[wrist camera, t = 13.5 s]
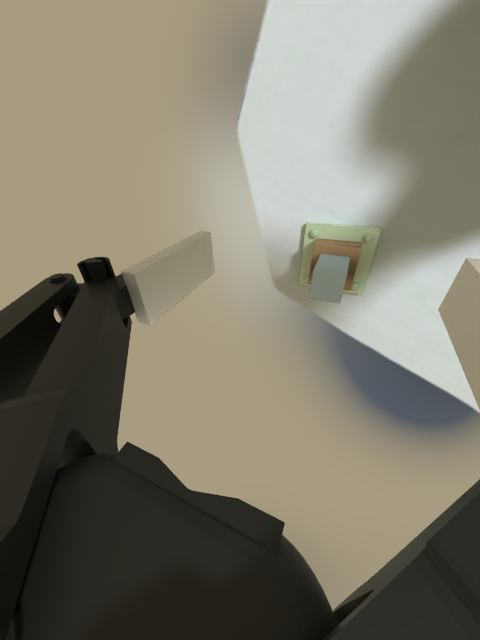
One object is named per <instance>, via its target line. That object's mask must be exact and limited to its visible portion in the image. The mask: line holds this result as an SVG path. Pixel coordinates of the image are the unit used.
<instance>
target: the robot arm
mask: <svg viewBox="0 0 480 640" xmlns="http://www.w3.org/2000/svg"><path fill="white" fill-rule="evenodd" d="M77 265H78V268H79V270H80V272H81V274H82V276H83V279H84V281H85V282H84V284H77V282H76V280H75V278H74V276H73V275H72V274H61V273H60V274H55V275H52V276H50V277H49V278H46V279H45V280H43V281H42V282H40V283H39V284H37V285H36V286H35V287H33V288H32V289H30V290H29V291H28V292H26V293H25V294H24V295H22V296H21V297H19V298H18V299H17V300H15V301H14V302H12V303H11V304H10V305H8V306H7V307H6V308H4V309H3V310H1V311H0V640H480V480H479V481H478V482H476V483H475V484H474V485H473V486H472V487H471V488H470V489H469V490H468V491H466V492H465V493H464V494H463V495H462V496H461V497H460V498H459V499H458V500H456V501H455V502H454V503H453V504H452V505H451V506H450V507H449V508H448V509H447V510H445V511H444V512H443V513H442V514H441V515H440V516H439V517H438V518H437V519H436V520H435V521H433V522H432V523H431V524H430V525H429V526H428V527H427V528H426V529H425V530H424V531H422V532H421V533H420V534H419V535H418V536H417V537H416V538H415V539H414V540H413V541H411V542H410V543H409V544H408V545H407V546H406V547H405V548H404V549H402V550H401V551H400V552H399V553H398V554H397V555H396V556H395V557H394V558H393V559H391V560H390V561H389V562H388V563H387V564H386V565H385V566H384V567H383V568H382V569H380V570H379V571H378V572H377V573H376V574H375V575H374V576H373V577H372V578H370V579H369V580H368V581H367V582H365V583H364V584H363V585H362V586H360V587H359V588H358V589H357V590H356V591H354V592H353V593H352V594H351V595H350V596H349V597H348V598H346V599H345V600H344V601H343V602H342V603H341V604H340V605H339V606H337V607H336V608H335V609H334V610H333V611H332V609H331V606H330V604H329V602H328V600H327V597H326V595H325V593H324V591H323V589H322V587H321V585H320V583H319V582H318V580H317V578H316V576H315V574H314V573H313V571H312V570H311V568H310V567H309V565H308V564H307V562H306V561H305V559H304V558H303V557H302V555H301V554H300V553H299V552H298V551H297V549H296V548H295V547H294V546H293V545H292V544H291V543H290V542H289V541H288V540H287V539H286V538H285V537H284V536H283V535H282V532H283V528H284V522H282V521H281V520H279V519H277V518H275V517H273V516H271V515H269V514H267V513H265V512H263V511H261V510H259V509H257V508H255V507H253V506H251V505H250V504H247V503H246V502H244V501H242V500H240V499H237V498H231V497H226V496H220V495H214V494H208V493H202V492H196V491H192V490H189V489H188V488H186V487H185V486H184V484H183V483H182V482H181V481H180V480H179V479H178V478H177V477H176V476H175V475H174V474H173V473H172V472H171V471H170V469H169V468H168V467H167V466H166V465H165V464H164V463H163V462H162V461H161V460H160V459H159V458H158V457H156V456H154V455H152V454H150V453H148V452H146V451H144V450H142V449H140V448H139V447H137V446H135V445H133V444H131V443H129V442H127V443H126V444H125V445H124V446H123V448H122V449H121V450H120V451H119V452H118V447H117V435H118V427H119V419H120V410H121V403H122V394H123V387H124V379H125V371H126V363H127V356H128V348H129V340H130V332H131V324H132V321H131V318H130V315H131V314H133V313H134V312H135V314H136V317H137V319H138V322H141V323H145V324H148V325H151V324H152V323H153V322H155V321H156V320H157V319H158V318H159V317H161V316H162V315H163V314H164V313H166V312H167V311H168V310H169V309H171V308H172V307H173V306H174V305H175V304H177V303H178V302H179V301H180V300H182V299H183V298H184V297H185V296H186V295H188V294H189V293H190V292H191V291H192V290H194V289H195V288H196V287H197V286H198V285H200V284H201V283H202V282H203V281H205V280H206V279H207V278H208V277H209V276H211V275H212V274H213V273H214V264H213V254H212V244H211V233H210V232H203V231H200V232H198V233H196V234H194V235H192V236H190V237H188V238H186V239H184V240H182V241H180V242H178V243H176V244H174V245H172V246H170V247H168V248H166V249H164V250H162V251H160V252H158V253H156V254H154V255H152V256H151V257H148V258H147V259H145V260H143V261H141V262H139V263H137V264H135V265H133V266H131V267H129V268H127V269H125V270H123V271H121V273H122V274H120V275H118V276H116V277H115V274H114V271H113V268H112V266H111V263H110V260H109V258H107V257H95V258H89V259H86V260H84V261H81V262H79V263H78V264H77ZM55 309H56V310H57V312H58V314H59V316H60V317H61V319H62V320H61V321H60V322H59V323H58V322H57V321H56V319H55V317H54V310H55ZM438 310H439V312H440V315H441V317H442V320H443V322H444V325H445V327H446V329H447V332H448V334H449V337H450V339H451V341H452V344H453V346H454V349H455V351H456V354H457V356H458V358H459V361H460V363H461V366H462V368H463V371H464V373H465V375H466V378H467V380H468V383H469V385H470V388H471V390H472V392H473V395H474V397H475V400H476V402H477V404H478V407H479V409H480V259H472V258H466V259H465V261H464V263H463V265H462V267H461V269H460V270H459V272H458V274H457V276H456V278H455V280H454V282H453V283H452V285H451V287H450V289H449V291H448V293H447V294H446V296H445V298H444V300H443V302H442V304H441V305H440V307H439V309H438Z"/></svg>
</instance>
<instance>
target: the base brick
mask: <svg viewBox="0 0 480 640" xmlns="http://www.w3.org/2000/svg"><path fill="white" fill-rule="evenodd" d="M361 250H362V242H353V241H343V240H332V239H321V238H317V240H316V242H315V243H314V247H313V253H312V260H311V266H310V273H309V279H308V284H310V285H311V282H312V275H313V270H314V268H315V266H316V263H317V261H318V259H319V257H320V255H321V254H328V255H337V256H346V257H350V261H349V266H348V272H347V277H346V281H345V285H344V289H343V290H348V291H351V287H352V283H353V280H354V276H355V272H356V269H357V265H358V261H359V258H360V254H361Z"/></svg>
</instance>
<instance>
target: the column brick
mask: <svg viewBox="0 0 480 640" xmlns="http://www.w3.org/2000/svg"><path fill="white" fill-rule="evenodd" d="M349 261H350V257H346V256H337V255H328V254H321V255H320V257H319V259H318V261H317V263H316V266H315V268H314V270H313V275H312V282H311V288H310V294H309V298H312V299H318V300H323V301H329V302H335V303H340V301H341V297H342V293H343V289H344V285H345V281H346V277H347V272H348V266H349Z"/></svg>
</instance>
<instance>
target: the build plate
mask: <svg viewBox="0 0 480 640" xmlns="http://www.w3.org/2000/svg"><path fill="white" fill-rule="evenodd" d="M381 231H382V228H377V227H363V226H349V225H335V224H321V223H308V222H307V223H306V229H305V237H304V244H303V252H302V260H301V268H300V276H299V284H298V285H304V286H310V287H311V285H310V284H308V279H309V273H310V266H311V260H312V253H313V247H314V243H315V242H316V240H317V238H321V239H332V240H343V241H353V242H362V250H361V254H360V258H359V261H358V265H357V269H356V272H355V276H354V280H353V283H352V287H351V291H348V290H343V292H347V293H353V294H359V295H362V293H363V289H364V286H365V283H366V279H367V276H368V273H369V270H370V266H371V263H372V260H373V257H374V253H375V250H376V247H377V244H378V240H379V237H380V234H381Z"/></svg>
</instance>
